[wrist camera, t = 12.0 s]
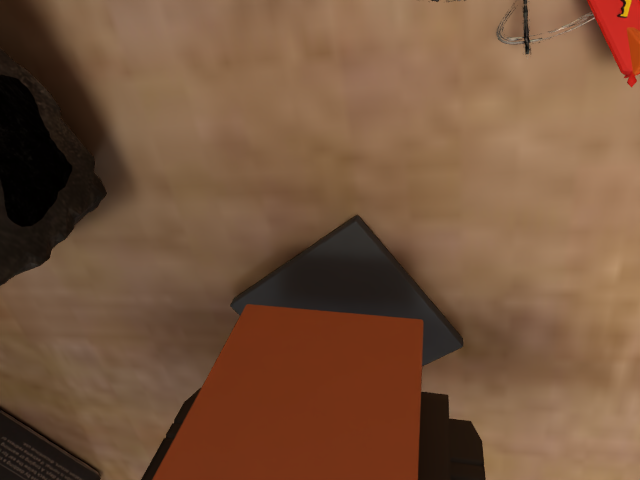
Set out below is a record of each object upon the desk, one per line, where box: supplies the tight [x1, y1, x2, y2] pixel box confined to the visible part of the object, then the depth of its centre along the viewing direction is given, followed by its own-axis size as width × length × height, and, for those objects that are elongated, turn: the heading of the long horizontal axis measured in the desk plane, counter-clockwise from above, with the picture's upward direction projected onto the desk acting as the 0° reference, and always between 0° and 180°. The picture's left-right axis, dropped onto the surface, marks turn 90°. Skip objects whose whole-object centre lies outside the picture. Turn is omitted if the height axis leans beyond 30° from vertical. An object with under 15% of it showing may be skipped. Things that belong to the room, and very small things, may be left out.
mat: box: [230, 216, 463, 366], centre depth 16 cm, size 5×5×1 cm
